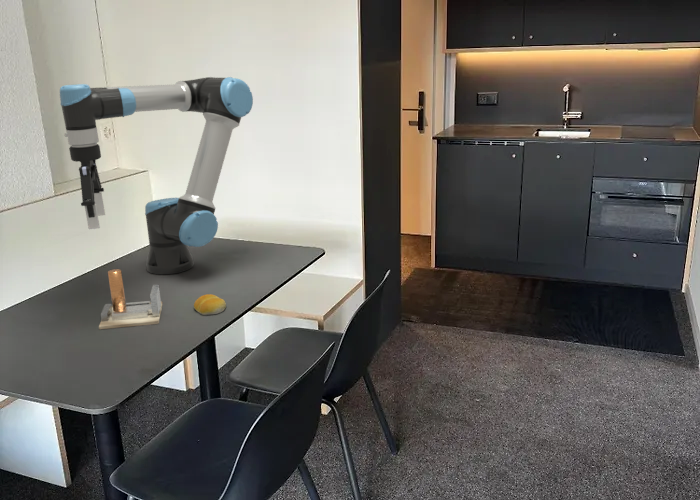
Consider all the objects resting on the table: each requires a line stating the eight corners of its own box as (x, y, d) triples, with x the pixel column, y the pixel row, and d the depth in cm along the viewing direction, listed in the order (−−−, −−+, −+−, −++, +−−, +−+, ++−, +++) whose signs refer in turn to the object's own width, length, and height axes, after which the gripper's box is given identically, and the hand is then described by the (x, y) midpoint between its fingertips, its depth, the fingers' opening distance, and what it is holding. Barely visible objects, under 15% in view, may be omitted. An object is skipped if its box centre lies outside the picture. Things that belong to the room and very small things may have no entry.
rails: (106, 310, 177) (105, 304, 177) (150, 306, 179) (149, 300, 179) (101, 321, 170) (100, 314, 170) (147, 317, 172) (146, 310, 172)
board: (107, 309, 180) (107, 306, 180) (162, 304, 183) (162, 301, 183) (99, 329, 167) (98, 326, 167) (158, 323, 170) (158, 321, 170)
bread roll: (206, 318, 173) (204, 305, 172) (190, 309, 180) (188, 296, 179) (232, 310, 178) (231, 297, 177) (216, 301, 185) (215, 288, 184)
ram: (116, 308, 178) (110, 267, 174) (161, 304, 180) (156, 263, 176) (111, 320, 170) (105, 276, 167) (158, 315, 173) (153, 272, 169)
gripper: (75, 138, 181) (88, 211, 187) (61, 153, 158) (76, 235, 164) (103, 136, 182) (115, 209, 189) (93, 151, 159) (107, 232, 166)
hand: (97, 221), depth 177 cm, fingers open, 13 cm apart
